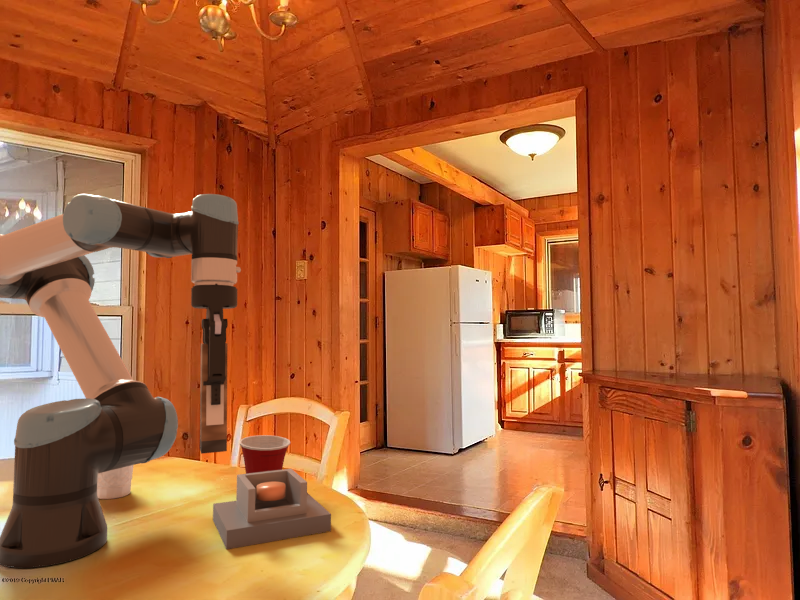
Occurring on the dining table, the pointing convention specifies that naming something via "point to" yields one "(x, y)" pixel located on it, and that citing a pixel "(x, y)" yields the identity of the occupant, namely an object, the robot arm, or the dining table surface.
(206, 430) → the brown wooden block
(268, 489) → the button
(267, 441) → the plastic cup
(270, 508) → the switch panel
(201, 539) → the dining table surface
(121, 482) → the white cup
